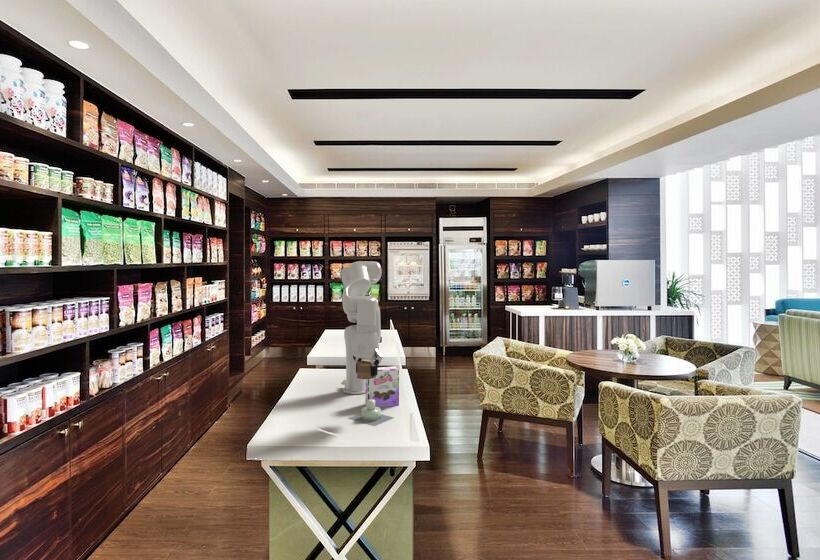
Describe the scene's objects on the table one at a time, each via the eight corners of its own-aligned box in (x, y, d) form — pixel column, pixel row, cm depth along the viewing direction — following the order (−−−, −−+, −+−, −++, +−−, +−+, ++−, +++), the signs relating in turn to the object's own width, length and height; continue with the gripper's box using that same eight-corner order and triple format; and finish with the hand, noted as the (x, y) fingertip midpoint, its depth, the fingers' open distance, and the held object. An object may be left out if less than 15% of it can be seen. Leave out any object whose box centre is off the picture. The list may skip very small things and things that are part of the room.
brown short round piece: (353, 377, 182) (353, 361, 182) (366, 373, 188) (366, 358, 187) (366, 380, 177) (366, 364, 177) (379, 376, 183) (379, 361, 183)
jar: (357, 418, 182) (357, 400, 182) (370, 413, 188) (370, 396, 188) (371, 422, 178) (371, 404, 177) (384, 417, 184) (384, 399, 183)
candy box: (367, 409, 196) (367, 370, 195) (365, 405, 202) (365, 367, 201) (399, 406, 200) (399, 368, 199) (396, 402, 205) (396, 365, 205)
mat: (347, 419, 182) (347, 418, 182) (368, 412, 192) (368, 410, 192) (374, 427, 174) (374, 426, 174) (394, 419, 184) (394, 417, 184)
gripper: (344, 328, 184) (344, 372, 185) (376, 332, 174) (376, 379, 174) (357, 326, 190) (357, 369, 191) (389, 330, 179) (389, 375, 180)
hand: (366, 374), depth 182 cm, fingers closed on brown short round piece, 7 cm apart
